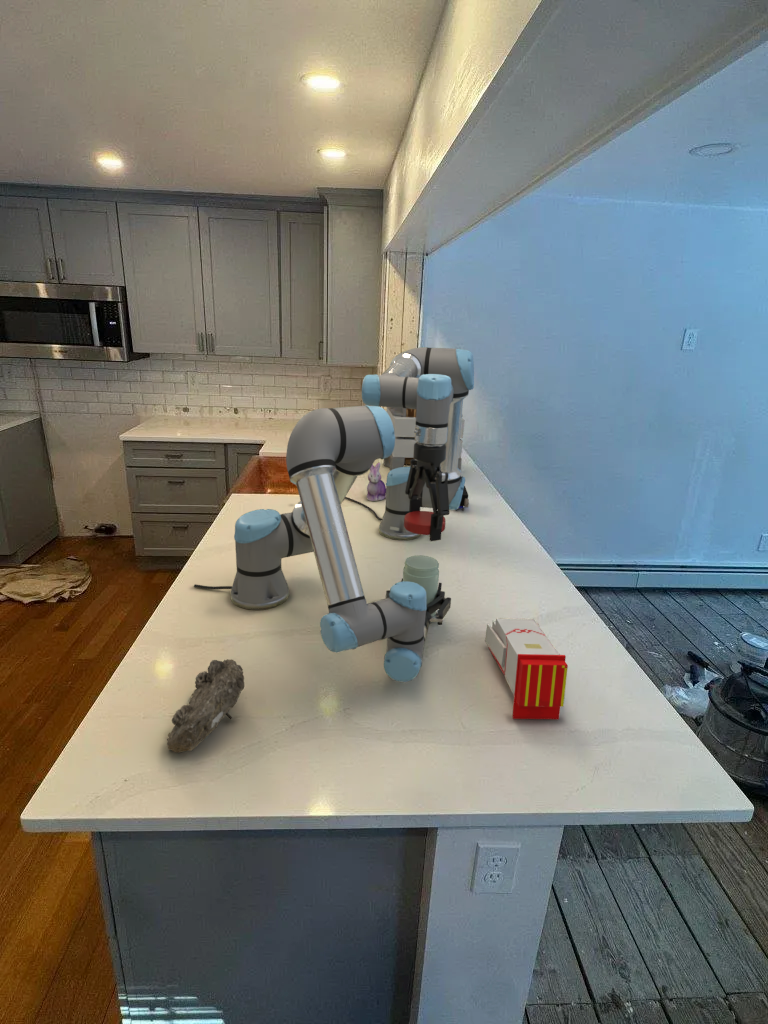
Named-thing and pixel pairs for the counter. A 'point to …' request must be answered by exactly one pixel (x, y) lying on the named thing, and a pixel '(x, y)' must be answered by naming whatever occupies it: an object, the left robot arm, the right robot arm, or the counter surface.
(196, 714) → the fossil
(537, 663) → the toy
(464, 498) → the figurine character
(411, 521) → the lid
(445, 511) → the right robot arm
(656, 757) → the counter surface
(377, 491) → the figurine
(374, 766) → the counter surface
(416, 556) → the jar
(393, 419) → the grey slatted crate
